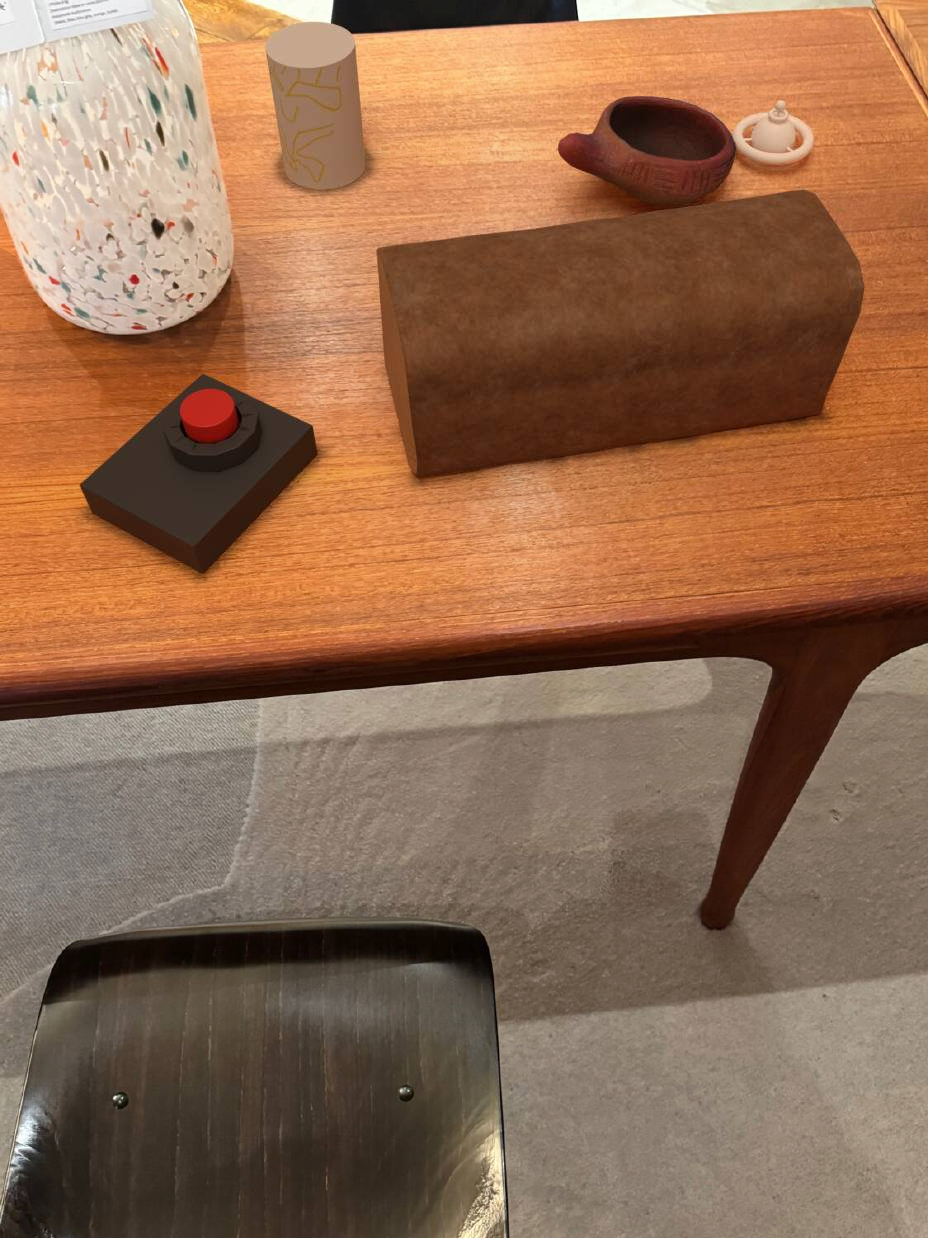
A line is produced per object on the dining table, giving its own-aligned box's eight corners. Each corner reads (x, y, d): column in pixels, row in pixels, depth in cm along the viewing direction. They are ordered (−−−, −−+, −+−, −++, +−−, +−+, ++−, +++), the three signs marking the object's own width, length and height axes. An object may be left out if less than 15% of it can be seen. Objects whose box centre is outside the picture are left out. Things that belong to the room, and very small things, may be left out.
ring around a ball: (712, 149, 107) (766, 188, 104) (722, 95, 103) (778, 134, 99) (772, 122, 110) (826, 159, 106) (784, 68, 105) (841, 105, 101)
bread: (826, 421, 86) (883, 274, 74) (412, 487, 82) (402, 343, 70) (764, 309, 93) (806, 160, 82) (383, 365, 90) (370, 217, 78)
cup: (270, 178, 105) (249, 57, 95) (307, 135, 109) (291, 15, 99) (344, 196, 103) (330, 74, 93) (379, 152, 107) (369, 31, 97)
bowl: (640, 138, 108) (651, 60, 102) (749, 185, 104) (767, 106, 97) (545, 212, 102) (549, 133, 95) (656, 266, 97) (669, 187, 90)
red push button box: (202, 574, 77) (187, 530, 73) (91, 512, 81) (71, 468, 76) (318, 454, 84) (310, 408, 80) (210, 402, 87) (197, 355, 83)
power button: (215, 451, 78) (210, 434, 76) (173, 430, 79) (168, 413, 78) (249, 418, 80) (245, 400, 78) (208, 398, 81) (203, 381, 79)
